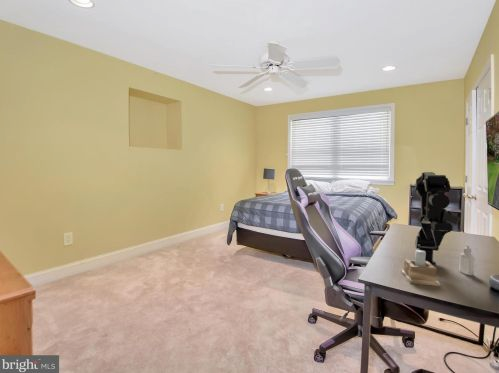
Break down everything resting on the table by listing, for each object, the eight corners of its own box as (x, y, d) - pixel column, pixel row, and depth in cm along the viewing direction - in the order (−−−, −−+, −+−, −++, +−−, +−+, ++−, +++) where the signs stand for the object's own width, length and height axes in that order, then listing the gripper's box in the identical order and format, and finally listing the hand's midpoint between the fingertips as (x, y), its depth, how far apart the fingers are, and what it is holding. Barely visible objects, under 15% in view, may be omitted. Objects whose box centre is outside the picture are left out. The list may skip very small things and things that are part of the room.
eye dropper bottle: (460, 274, 113) (462, 246, 112) (458, 270, 118) (460, 242, 117) (474, 276, 111) (476, 247, 110) (471, 271, 116) (473, 244, 115)
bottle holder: (400, 271, 117) (401, 257, 116) (427, 273, 114) (427, 259, 114) (410, 283, 105) (411, 268, 105) (440, 286, 103) (440, 270, 102)
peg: (412, 273, 112) (414, 249, 111) (422, 274, 111) (423, 250, 110) (416, 277, 108) (417, 252, 107) (425, 278, 108) (427, 253, 107)
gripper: (470, 209, 102) (467, 250, 103) (446, 202, 120) (444, 237, 121) (436, 208, 104) (434, 248, 105) (418, 202, 122) (416, 236, 124)
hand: (433, 242), depth 114 cm, fingers open, 9 cm apart
